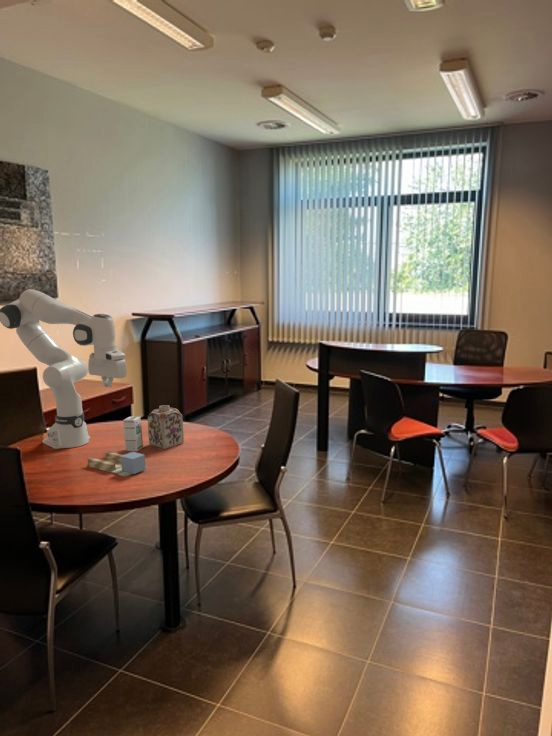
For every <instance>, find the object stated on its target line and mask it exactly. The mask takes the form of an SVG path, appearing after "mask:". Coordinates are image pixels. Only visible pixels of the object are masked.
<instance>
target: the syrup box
mask: <svg viewBox="0 0 552 736" xmlns="http://www.w3.org/2000/svg"><path fill="white" fill-rule="evenodd" d="M141 418H142V417H141V416H137V415H135V416H128V417H126V418H125V419H123V420H122V422H123V434H124V436H123V437H124V443H125V451H126V452H139V451H140V450H141V449H143V448H144V444H143V443H144V441H143V429H142V419H141Z"/></svg>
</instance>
